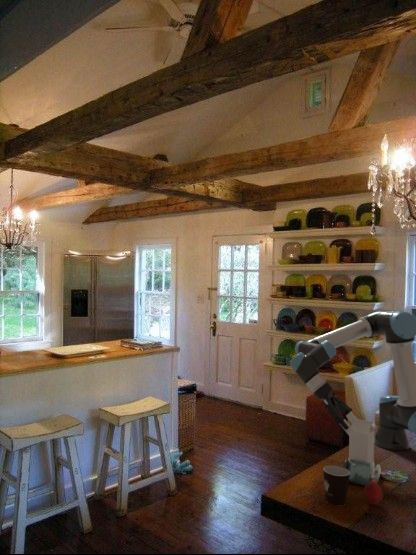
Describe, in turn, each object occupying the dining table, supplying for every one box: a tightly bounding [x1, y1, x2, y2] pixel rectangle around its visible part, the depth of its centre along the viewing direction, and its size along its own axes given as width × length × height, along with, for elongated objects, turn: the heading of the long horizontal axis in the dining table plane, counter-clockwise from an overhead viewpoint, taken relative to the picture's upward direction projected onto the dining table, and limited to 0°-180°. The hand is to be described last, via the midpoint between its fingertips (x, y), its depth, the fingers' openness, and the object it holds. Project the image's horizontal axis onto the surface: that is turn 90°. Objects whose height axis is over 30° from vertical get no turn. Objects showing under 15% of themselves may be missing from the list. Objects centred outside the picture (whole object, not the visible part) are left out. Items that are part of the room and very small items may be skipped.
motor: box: [342, 457, 382, 486], centre depth 167 cm, size 19×12×8 cm, turn 152°
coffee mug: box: [322, 465, 350, 506], centre depth 148 cm, size 12×9×10 cm
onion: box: [363, 480, 384, 505], centre depth 145 cm, size 6×6×8 cm
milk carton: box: [348, 417, 375, 471], centre depth 170 cm, size 7×7×19 cm
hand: (357, 431), depth 171 cm, fingers open, 13 cm apart
